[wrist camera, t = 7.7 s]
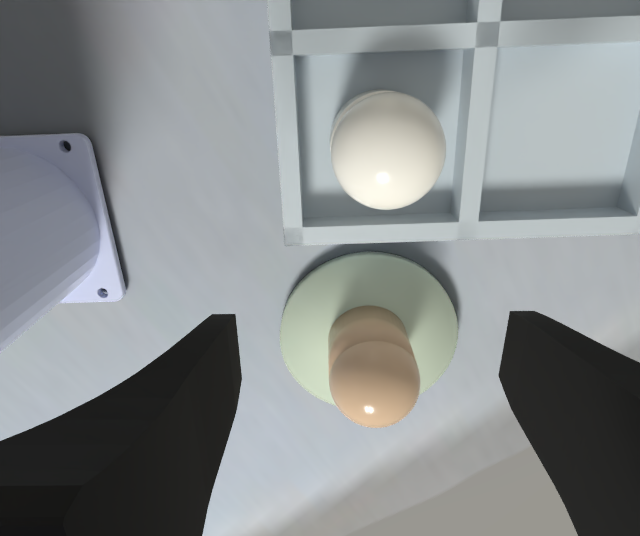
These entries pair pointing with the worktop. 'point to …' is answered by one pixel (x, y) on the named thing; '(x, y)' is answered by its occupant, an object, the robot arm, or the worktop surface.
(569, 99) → the carton
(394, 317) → the egg brown
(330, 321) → the saucer
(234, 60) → the worktop surface
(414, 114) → the egg white
